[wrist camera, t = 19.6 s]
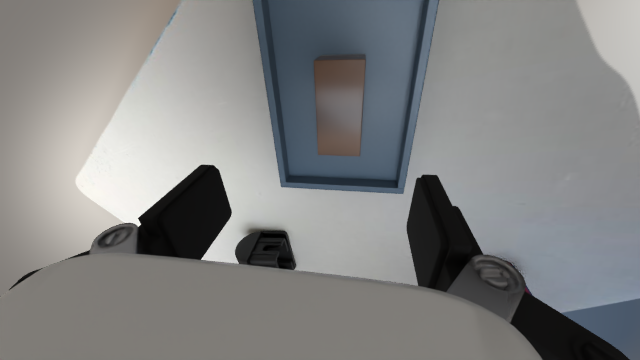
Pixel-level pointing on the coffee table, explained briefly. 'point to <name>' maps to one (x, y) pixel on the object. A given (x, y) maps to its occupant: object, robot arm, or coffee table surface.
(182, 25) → the coffee table surface
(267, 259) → the end cap
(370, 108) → the tray
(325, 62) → the eraser
